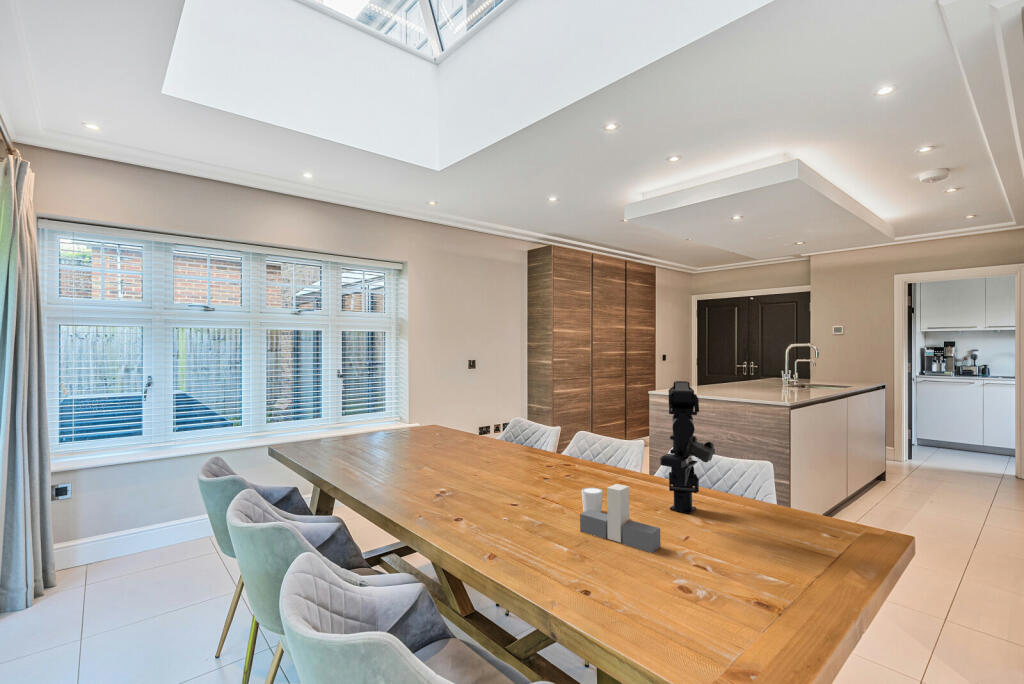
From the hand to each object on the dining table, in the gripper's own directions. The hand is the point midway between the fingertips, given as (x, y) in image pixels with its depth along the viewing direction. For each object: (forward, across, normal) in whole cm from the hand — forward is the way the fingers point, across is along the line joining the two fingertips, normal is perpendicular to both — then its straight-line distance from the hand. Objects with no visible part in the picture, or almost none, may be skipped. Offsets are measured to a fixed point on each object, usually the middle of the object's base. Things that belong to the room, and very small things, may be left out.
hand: (683, 485), depth 141 cm
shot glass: (+12, -7, +27) cm, 30 cm away
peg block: (+12, -20, +10) cm, 26 cm away
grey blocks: (+12, -20, +10) cm, 26 cm away
